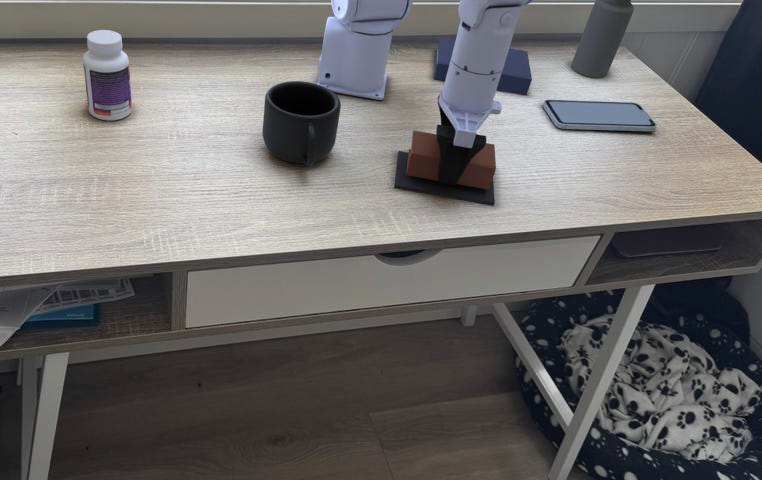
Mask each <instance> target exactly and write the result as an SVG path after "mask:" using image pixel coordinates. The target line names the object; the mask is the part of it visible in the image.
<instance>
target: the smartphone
mask: <svg viewBox="0 0 762 480" xmlns="http://www.w3.org/2000/svg"><path fill="white" fill-rule="evenodd" d="M542 107H543V109H544V110H545V112H546V114H547V115H548V117H549V118H550V120H551V121H552V123H553V124H554V126H555V127H557V128H559V129H562V130H563V129H564V130H595V131H629V132H654V131H656V130H657V127H658V124H657V123H656V122H655V121H654V119H653V118H652V117H651V115H650V114H649V113H648V112H647V111H646V110H645V108H643V106H642V105H641V104H639V103H637V102H634V101H607V100H605V101H603V100H576V99H575V100H574V99H573V100H572V99H544V100H543V103H542Z"/></svg>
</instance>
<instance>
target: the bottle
mask: <svg viewBox="0 0 762 480" xmlns="http://www.w3.org/2000/svg"><path fill="white" fill-rule="evenodd" d="M634 10H635V7H634V5H633V3H632V0H595V1H594V3H593V6H592V7H591V11H590V14H589V16H588V19H587V22H586V25H585V26H584V29H583V32H582V35H581V38H580V40H579V43H578V45H577V48H576V51H575V53H574V56H573V59H572V62H571V65H570V66H571V68H572V70H574V71H575V72H576V73H578V74H580V75H581V76H585V77H588V78H592V79H593V78H594V79H600V78H605V77H607V75H608V74H609V71H610V69H611V67H612V64H613V62H614V60H615V57H616V55H617V53H618V50H619V47H620V45H621V43H622V40H623V38H624V36H625V33H626V32H627V29H628V26H629V24H630V21H631V19H632V16H633V14H634Z"/></svg>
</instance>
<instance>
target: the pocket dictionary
mask: <svg viewBox="0 0 762 480" xmlns="http://www.w3.org/2000/svg"><path fill="white" fill-rule="evenodd" d="M411 135H412V136H411V147H410V148H409V149H408V151H407V152H408V160H407V171H406V175H409V176H414V177H420V178H426V179H431V180H437V181H438V169H439V159H440V149H439V144H438V141H437V136H436V133H430V132H425V131H419V130H415V129H414V130H412V134H411ZM496 171H497V160H496V147H495V144H494V143H489V142H486V145H485V146H484V148H483V149H482V150H481V151H480V152H478V153H477V154H476V155H475V156H474V157H473V158H472V159H471V161H470V162H469V164H468V165H467V167H466V168H465V170H464V172H463V174H462V175H461V177H460V179H459V180H458V182H457V183H456V184H459V185H465V186H471V187H476V188H482V189H488V190H489V189H490V186H491V183H492V180H493V181H494V176H495V173H496Z"/></svg>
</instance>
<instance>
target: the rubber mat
mask: <svg viewBox="0 0 762 480" xmlns="http://www.w3.org/2000/svg"><path fill="white" fill-rule="evenodd" d="M407 160H408V151H402V150H399V151H398V153H397V162H396V169H395V179H394V188H395V189H399V190H403V191H404V190H406V191H409V192H416V193H421V194H427V195H433V196H438V197H444V198H450V199H456V200H461V201H467V202H472V203H478V204H483V205H489V206H495V204H496V200H495V184H494V183H495V182H494V179H493V180H492V183H491V186H490V189H489V190H488V189H482V188H476V187H471V186H465V185H459V184H456V185H450V184H445V183H439V182H438V181H437V180H431V179H426V178H420V177H414V176H409V175H406V171H407Z"/></svg>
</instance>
